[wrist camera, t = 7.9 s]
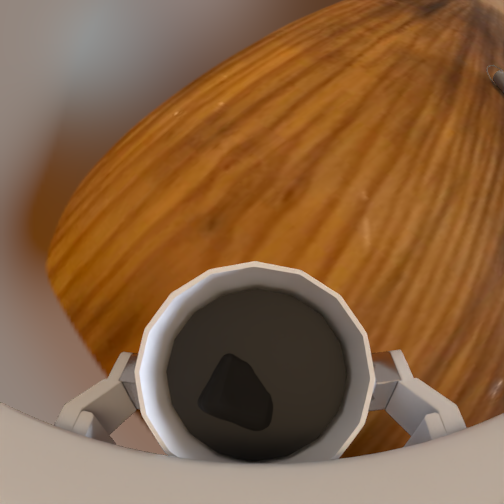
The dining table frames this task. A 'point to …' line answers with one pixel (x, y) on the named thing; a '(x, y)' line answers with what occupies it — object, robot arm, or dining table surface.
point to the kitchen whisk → (498, 78)
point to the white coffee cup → (254, 368)
